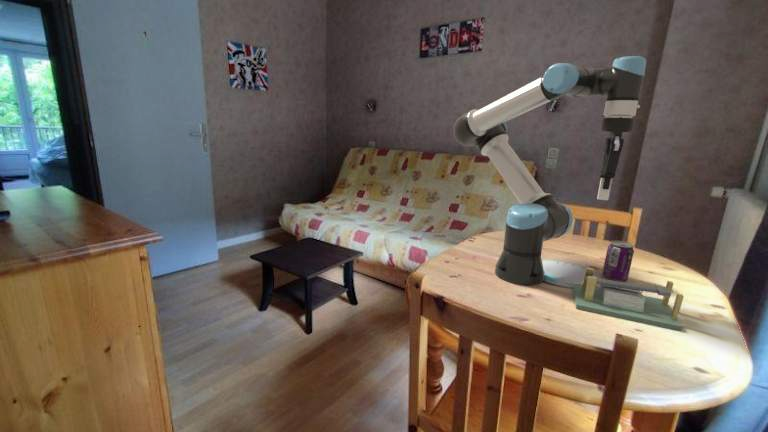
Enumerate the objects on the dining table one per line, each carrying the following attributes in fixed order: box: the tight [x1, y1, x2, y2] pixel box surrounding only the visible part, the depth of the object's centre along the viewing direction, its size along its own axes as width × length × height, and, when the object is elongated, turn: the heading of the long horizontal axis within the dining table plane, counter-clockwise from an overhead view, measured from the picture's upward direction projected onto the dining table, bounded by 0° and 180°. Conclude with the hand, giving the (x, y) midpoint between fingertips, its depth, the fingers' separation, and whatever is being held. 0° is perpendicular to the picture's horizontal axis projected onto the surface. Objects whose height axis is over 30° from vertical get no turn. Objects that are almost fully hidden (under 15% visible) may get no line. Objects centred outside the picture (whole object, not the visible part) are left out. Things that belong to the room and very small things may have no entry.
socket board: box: [572, 282, 683, 332], centre depth 96 cm, size 23×15×1 cm, turn 65°
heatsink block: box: [598, 284, 645, 313], centre depth 95 cm, size 9×9×4 cm
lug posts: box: [582, 267, 684, 320], centre depth 94 cm, size 21×9×7 cm, turn 65°
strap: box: [586, 275, 672, 298], centre depth 94 cm, size 19×4×2 cm, turn 65°
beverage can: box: [601, 240, 635, 282], centre depth 112 cm, size 7×7×12 cm
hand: (602, 199), depth 102 cm, fingers closed
